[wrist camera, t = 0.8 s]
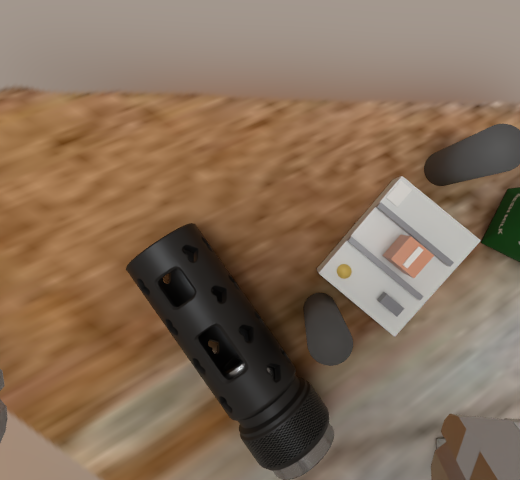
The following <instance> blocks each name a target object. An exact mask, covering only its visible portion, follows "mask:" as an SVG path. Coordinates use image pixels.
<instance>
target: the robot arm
mask: <svg viewBox="0 0 520 480" xmlns="http://www.w3.org/2000/svg"><path fill="white" fill-rule="evenodd" d="M3 387H4V380H3V373H2V370H1V369H0V391H1V390H2V388H3ZM6 423H7V407H6V405H5V404H4V403H3V402H2V401H1V400H0V442H1V440H2V438H3V435H4V433H5V430H6ZM441 432H442V434H443V436H444V438H445V440H446V442H445V443H444V444H443V445H441V446H440V447H439V448H438V449H436V450H435V452H434V456H433V460H432V464H431V479H432V480H520V419H507V418H505V419H498V418H488V417H477V416H467V415H457V414H449V415H448V417H447V418H446V419H445V420H444V423H443V426H442V429H441Z"/></svg>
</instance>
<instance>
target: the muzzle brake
mask: <svg viewBox="0 0 520 480" xmlns="http://www.w3.org/2000/svg"><path fill="white" fill-rule="evenodd" d="M126 270H127V271H128V273H129V274H130V276H131V277H132V279H133V280H134V281H135V283H136V284H137V286H138V287H139V289H140V290H141V291H142V293H143V294H144V296H145V297H146V299H147V300H148V301H149V303H150V304H151V306H152V307H153V308H154V310H155V311H156V313H157V314H158V316H159V317H160V318H161V320H162V321H163V323H164V324H165V326H166V327H167V328H168V330H169V331H170V333H171V334H172V336H173V337H174V338H175V340H176V341H177V343H178V344H179V346H180V347H181V348H182V350H183V351H184V353H185V354H186V356H187V357H188V358H189V360H190V361H191V363H192V364H193V366H194V367H195V368H196V370H197V371H198V373H199V374H200V376H201V377H202V378H203V380H204V381H205V383H206V384H207V386H208V387H209V388H210V390H211V391H212V393H213V394H214V396H215V397H216V398H217V400H218V401H219V403H220V404H221V406H222V407H223V408H224V410H225V411H226V413H227V414H228V416H229V417H230V418H231V419H233V420H237V421H238V422H239V423H240V425H239V431H240V436H241V439H242V440H243V442H244V443H245V445H246V446H247V448H248V449H249V450H250V452H251V453H252V455H253V456H254V458H255V459H256V460H257V462H258V463H259V464H260V465H261V466H262V467H263V468H266V469H269V470H272V471H273V472H274V473H275V475H276V476H277V477H278V478H280V479H283V480H290V479H294V478H297V477H299V476H301V475H303V474H305V473H306V472H308V471H309V470H311V469H312V468H313V467H314V466H315V465H316V464H318V463H319V461H320V460H321V459H322V458H323V457H324V456H325V454H326V453H327V452H328V450H329V448H330V447H331V444H332V442H333V439H334V430H333V428H332V426H331V425H330V423H329V412H328V409H327V407H326V406H325V404H324V403H323V402H322V400H321V399H320V397H319V396H318V394H317V393H316V392H315V390H314V389H313V387H312V386H311V384H310V383H309V382H307V381H305V380H304V379H303V378H297V377H296V375H295V372H296V370H295V366H294V365H293V363H292V362H291V360H290V359H289V357H288V356H287V355H286V353H285V352H284V350H283V349H282V347H281V346H280V345H279V343H278V342H277V340H276V339H275V338H274V336H273V335H272V333H271V332H270V330H269V329H268V328H267V326H266V325H265V323H264V322H263V320H262V319H261V318H260V316H259V315H258V313H257V312H256V310H255V309H254V308H253V306H252V305H251V303H250V302H249V301H248V299H247V298H246V296H245V295H244V293H243V292H242V291H241V289H240V288H239V286H238V285H237V283H236V282H235V281H234V279H233V278H232V276H231V275H230V273H229V272H228V271H227V269H226V268H225V266H224V265H223V264H222V262H221V261H220V259H219V258H218V256H217V255H216V254H215V252H214V251H213V249H212V248H211V246H210V245H209V244H208V242H207V241H206V239H205V238H204V236H203V235H202V234H201V232H200V231H199V229H198V228H197V227H196V225H195V224H193V223H191V224H187V225H185V226H182V227H180V228H178V229H176V230H175V231H173V232H171V233H169V234H168V235H166V236H164V237H163V238H161V239H160V240H158V241H157V242H155V243H154V244H152V245H151V246H149V247H148V248H147V249H145V250H144V251H143V252H141V253H140V254H139V255H137V256H136V257H135V258H134V259H133V260H132V261H131V262H130V263H129V264H128V265H127V267H126ZM168 273H169V274H170V275H169V282H168V284H165V283H164V282H163V278H162V277H163V276H165V275H166V274H168ZM208 341H214V342H218V346H217V352H216V353H215V354H214V353H213V351H212V348H211V347H209V346H208Z"/></svg>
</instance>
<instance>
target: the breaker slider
mask: <svg viewBox="0 0 520 480" xmlns="http://www.w3.org/2000/svg"><path fill="white" fill-rule="evenodd" d="M382 256H383V257H385V258H386V259H387V260H388V261H389V262H391V263H392V264H393V265H394V266H395V267H397V268H398V269H399V270H400V271H401V272H403V273H404V274H406V275H408V276H410V277H412V278H415V277H416V276H417V275H418V273H419V272H420V271H421V270H422V269H423V268H424V267H425V266H426V264H427V263H428V262H429V261H430V260H431V259H432V258H433V257H434V255H433V254H432V253H431V252H430V251H428V250H427V249H426V248H425V247H423V246H422V245H421V244H420V243H419V242H417V241H416V240H415V239H414V238H413V237H411V236H406V235H400V236H399V237H398V238H397V239H396V240H395V242H394V243H393V244H392V245H391V246H390V247H389V248H388V250H387V251H386V252H385V253H384V254H383V255H382Z"/></svg>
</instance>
